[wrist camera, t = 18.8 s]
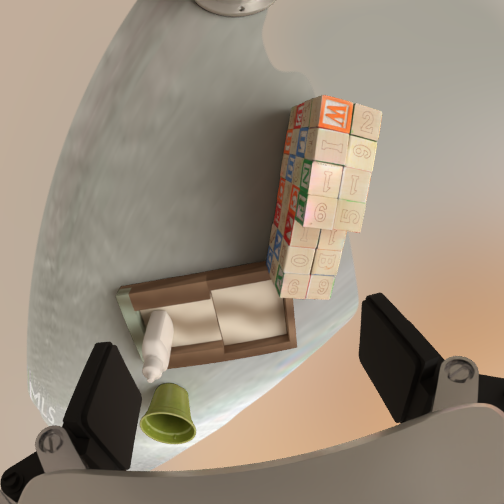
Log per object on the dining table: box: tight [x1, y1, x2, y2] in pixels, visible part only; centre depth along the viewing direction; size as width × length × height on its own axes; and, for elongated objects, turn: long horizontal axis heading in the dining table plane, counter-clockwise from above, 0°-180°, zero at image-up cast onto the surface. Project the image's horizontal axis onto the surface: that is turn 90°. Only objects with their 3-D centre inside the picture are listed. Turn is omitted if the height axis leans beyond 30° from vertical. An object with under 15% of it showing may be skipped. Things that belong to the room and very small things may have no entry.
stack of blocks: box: [266, 95, 382, 300], centre depth 33 cm, size 21×6×12 cm, turn 172°
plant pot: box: [140, 383, 196, 444], centre depth 46 cm, size 9×9×9 cm
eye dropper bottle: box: [142, 311, 174, 383], centre depth 38 cm, size 4×6×12 cm
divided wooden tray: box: [116, 261, 297, 369], centre depth 43 cm, size 14×24×3 cm, turn 98°
